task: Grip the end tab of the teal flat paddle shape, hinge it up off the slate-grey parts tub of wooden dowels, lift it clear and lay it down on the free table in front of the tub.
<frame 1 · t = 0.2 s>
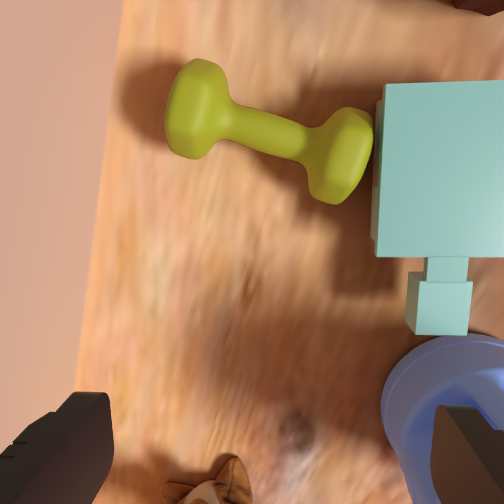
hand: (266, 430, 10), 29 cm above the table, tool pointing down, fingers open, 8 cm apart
tub: (423, 171, 35), on the table
water jug: (455, 399, 40), on the table
dumbbell: (269, 136, 36), on the table
teal flat paddle shape: (452, 173, 30), point 6 cm above the table, touching tub
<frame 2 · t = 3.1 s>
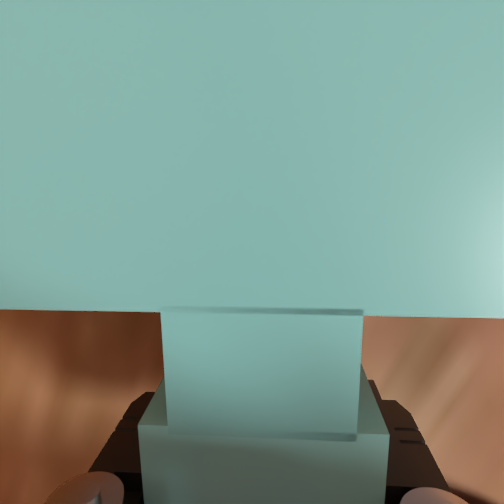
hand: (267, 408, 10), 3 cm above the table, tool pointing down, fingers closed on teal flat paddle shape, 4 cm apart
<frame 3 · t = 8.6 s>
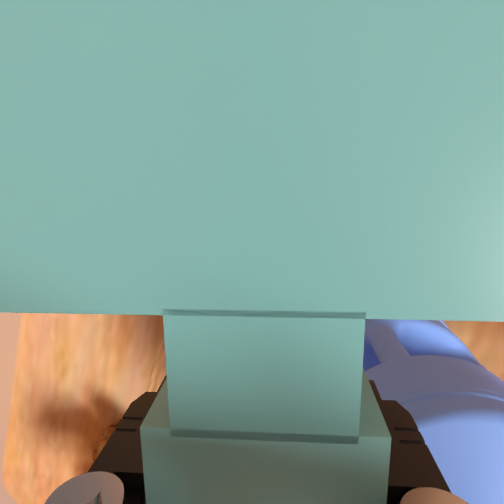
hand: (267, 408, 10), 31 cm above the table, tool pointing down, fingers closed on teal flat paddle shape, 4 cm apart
water jug: (375, 358, 43), on the table
when the fingers open (13 cm above the table, at t = 14.2 s): teal flat paddle shape drops 10 cm, resting on dumbbell.
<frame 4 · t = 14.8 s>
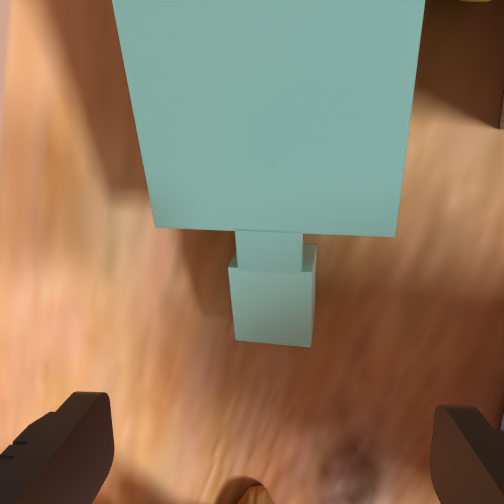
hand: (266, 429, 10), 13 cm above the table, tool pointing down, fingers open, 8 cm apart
teal flat paddle shape: (264, 75, 15), point 6 cm above the table, tilted 18°, touching dumbbell
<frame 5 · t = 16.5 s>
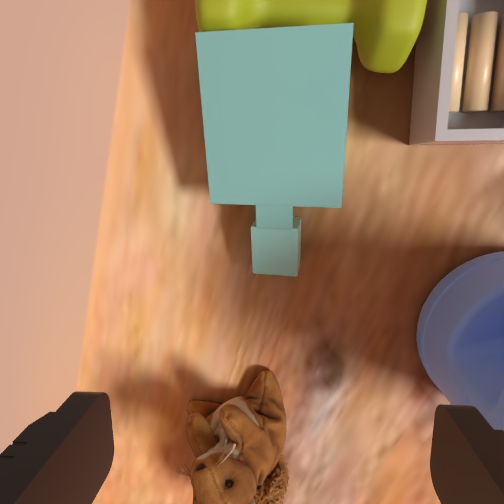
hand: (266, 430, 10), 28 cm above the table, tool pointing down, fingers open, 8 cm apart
stuffed squirrel: (248, 429, 42), on the table
tub: (469, 69, 33), on the table
water jug: (496, 327, 38), on the table
dumbbell: (304, 27, 33), on the table
teal flat paddle shape: (274, 123, 30), point 5 cm above the table, tilted 16°
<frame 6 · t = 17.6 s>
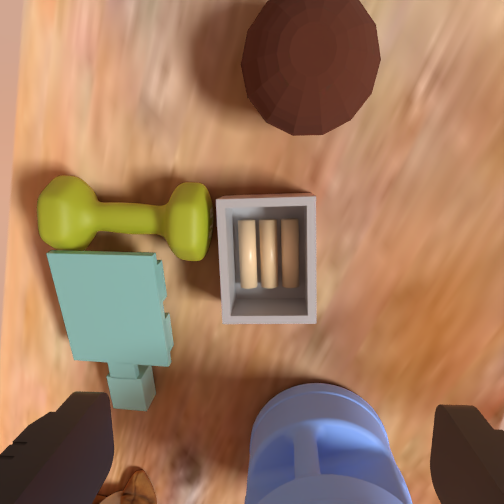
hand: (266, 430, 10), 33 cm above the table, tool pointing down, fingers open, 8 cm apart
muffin: (305, 80, 39), on the table
tub: (269, 250, 42), on the table
water jug: (316, 438, 47), on the table
dumbbell: (143, 214, 43), on the table
teal flat paddle shape: (113, 308, 40), point 5 cm above the table, tilted 12°
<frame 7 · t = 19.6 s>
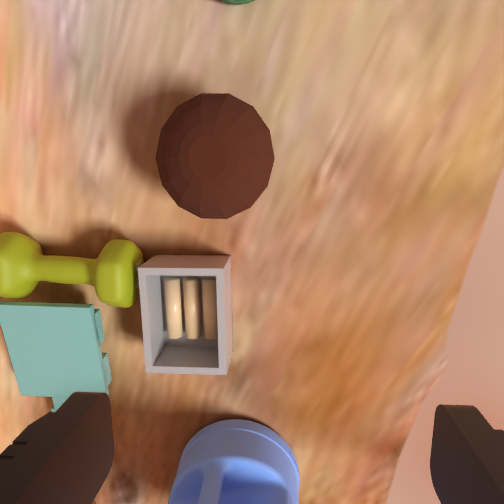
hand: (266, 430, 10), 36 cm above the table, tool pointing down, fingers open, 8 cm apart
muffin: (224, 159, 44), on the table
tub: (195, 303, 48), on the table
water jug: (239, 466, 53), on the table
dumbbell: (83, 261, 48), on the table, touching teal flat paddle shape
teal flat paddle shape: (56, 350, 46), point 4 cm above the table, tilted 9°, touching dumbbell
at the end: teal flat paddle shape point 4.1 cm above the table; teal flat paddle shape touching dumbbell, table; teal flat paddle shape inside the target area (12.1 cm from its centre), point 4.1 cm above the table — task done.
